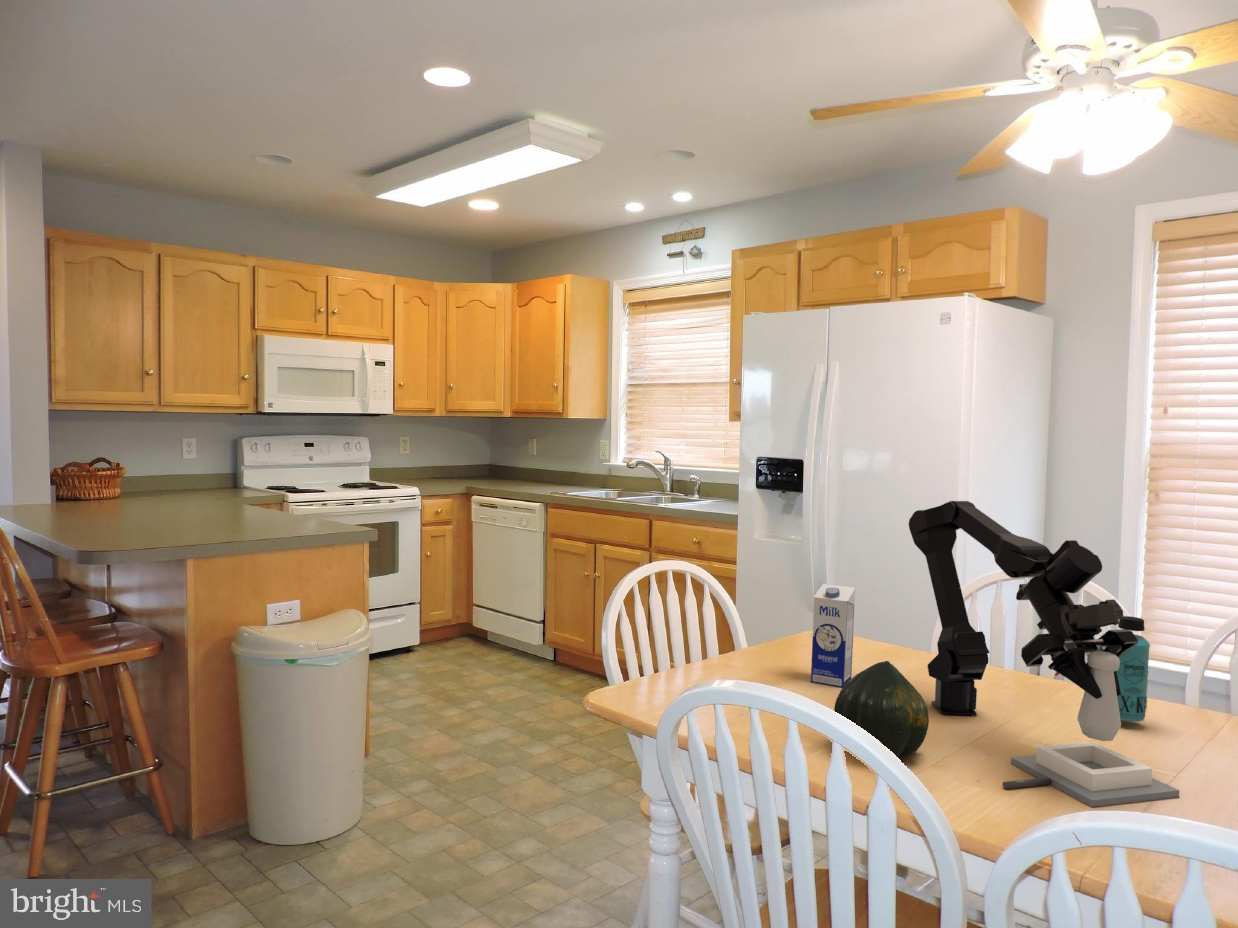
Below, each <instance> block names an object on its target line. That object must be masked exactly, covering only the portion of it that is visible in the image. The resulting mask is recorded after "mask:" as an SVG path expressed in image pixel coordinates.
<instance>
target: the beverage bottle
mask: <svg viewBox="0 0 1238 928" xmlns="http://www.w3.org/2000/svg"><path fill="white" fill-rule="evenodd" d="M1117 625H1118V628H1119V629H1126V630H1129V631H1132V632H1144V631H1145V620H1144V618H1141V617H1136V616H1129V615H1123V618H1122V619H1119V624H1117ZM1133 634H1134V633H1133ZM1134 635H1135V637H1136V638H1137V640H1138V642H1139V643H1138V644H1137V645H1135V646H1134V647H1133V648H1131V649H1130V650H1129V651H1127V652H1126V653H1125V654H1123V655H1122V656H1121V657H1119V660H1120V666H1119V669H1118V670H1117V671H1116V672H1117V676H1118V681H1119V686H1120V690H1121V695H1120V696H1119V697H1117V699H1118V706H1119V713H1120V720H1121V721H1124V722H1134V723H1137V722H1138V723H1140V722H1144V721H1145V718H1146V716H1147V715H1146V714H1147V707H1148V706H1147V705H1148V693H1147V692H1148V691H1149V690H1148V686H1149V683H1148V682H1149V680H1148V677H1149V673H1150V671H1149V669H1150V668H1149V659H1150V647H1151V644H1150V642H1149V641H1148V640H1147V639H1146V638H1145V637H1144V636H1143V635H1139V634H1134Z"/></svg>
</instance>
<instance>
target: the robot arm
mask: <svg viewBox="0 0 1238 928" xmlns="http://www.w3.org/2000/svg"><path fill="white" fill-rule="evenodd" d="M908 528H909V532H910V534H911V538H912V541H913V543H914V545H915V546H916V547H917V548H918V549H919V551H920V552H921V553H922V554H923V555H924V556H925V560H926V564H927V568H928V573H929V576H930V582H931V585H932V589H933V593H934V594H933V595H934V597H935V598H934V599H935V602H936V607H937V610H938V611H937V612H938V616H939V620H940V624H941V632H940V633H939V634H940V635H939V636H938V640H937V643H936V645H937V652H938V654H937V655H936V656H935V657H934V658H932V660H930V661H929V662H928V664H927V671H928V676H929V677H931V678H933V679H935V687H934V688H935V689H934V690H935V691H934V700H931V705H932V706H933V707H934V708H936V710H938V711H939V712H940V714H942V715H953V716H955V715H956V716H977V714H978V713H977V711H976V709H977V698H978V697H977V696H978V695H977V692H978V690H977V687H975V683H976V682H975V681H981V680H982V679H983V677H984V673H985V671H986V669H987V666H988V665H989V655H988V654H990V650H989V648H988V645H987V642H986V636H985V634H984V631H976V630H975V629H974V627H972V625H971V624H970V621H969V616H968V613H967V609H966V604H965V600H964V596H963V592H962V587H961V584H960V580H959V579H960V578H959V576H958V571H957V567H956V563H955V559H954V555H953V549H954V547H955V543H956V541H957V531H958V530H960V529H961V530H962V531H964V533H966V534H967V535H968V536H970V537H972V538H973V539H974V540H975V541H976V542H977V543H979V544H980V545H982V546H983V547H984V548H986V549H987V550H989V551H990V552H991V554H992V555H993V557H994V562H995V564H996V565H997V566H998V567H999V568H1000V569H1001V570H1002V571H1003V572H1004V574H1005V575H1006V576H1008V577H1009V578H1012V579H1020V578H1021V579H1025V578H1031V579H1029V581H1028V582H1027V583H1020V584H1019V585H1018V590H1017V593H1016V597H1015V598H1016V600H1017V601H1028V602H1030V604H1031V606H1032V607H1033V609H1034V611H1035V612H1036V614H1037V615H1038V618H1039V619H1040V621H1039V622H1038V623H1037V624H1036V625H1037V627H1038V628H1039V630H1046V631H1047V633H1038V634H1036V635H1035V636H1034V637H1033V638H1032V639H1031V640H1030V641H1029V642H1028V643H1026V644H1025V645H1024V646H1022V648H1021V653H1020V657H1021V659H1022V660H1023V662H1024V663H1025V665H1026V667H1027V668H1029V667H1040V666H1042V665H1043V663H1044V658H1043V656H1050V657H1051V658H1050V659H1051V661H1052V662H1051V663H1049V665H1048V666H1047V668H1048V669H1049V670H1053V671H1055V672H1056V673H1058V674H1059V675H1061V676H1062V677H1064V678H1066V679H1068V680H1069V681H1071V682H1072V683H1073V684H1074V685H1076V686H1077V687H1079V688H1080V689H1082V690H1083V691H1084V692H1085V691H1086V692H1087V693H1089V694H1090V695H1091V696H1093V697H1094V698H1095V699H1099V698H1101V697H1102V693H1101V691H1100V689H1099V687H1098V685H1097V683H1096V681H1095V679H1094V677H1093V675H1092V674H1091V672H1090V671H1091V667H1090V666H1089V665H1088V663H1087V661H1086V657H1087V658H1088V654H1090V653H1091V652H1094V651H1103V652H1108V653H1112V654H1114V655H1116V656H1117V657H1118V658H1119V657H1121V656H1122V655H1123V654H1125V653H1126V652H1127V651H1129V650H1130V649H1131V648H1133V647H1134V646H1135V645H1137V644H1138V643H1139V642H1138V640H1137V638H1136V637H1135V635H1136V634H1135V635H1134V631H1130V630H1126V629H1121V628H1119V629H1108V630H1107V631H1106V632H1105V633H1103V634H1102V635H1101V636H1099V637H1098V638H1096V639H1095V636H1097V635H1099V634H1101V632H1103V629H1102V628H1103V627H1107V626H1111V625H1113V626H1117V625H1119V619H1122V618H1123V616H1124V610H1123V609H1122V607H1121V606H1120V605H1119V603H1118V602H1117V600H1115V599H1105V600H1104V601H1099V602H1098V604H1097V603H1096V604H1089V605H1086V606H1084V605H1082V604H1080V603H1079V604H1075V603H1074V601H1073V600H1072V598H1071V596H1070V595H1069V594H1076V593H1078V592H1079V591H1080V590H1081V589H1083V588H1084V587H1085V586H1086V585H1087V584H1088V583H1090V581H1092V580H1093V579H1094V578H1095V577H1096V576H1097V575H1098V574H1100V572H1102V570H1103V563H1102V560H1101V559H1100V558H1099V556H1098V555H1096V554H1095V553H1094V552H1092V551H1091V549H1090V550H1089V549H1088V548H1086V547H1085V546H1083V545H1080V544H1079V542H1078V541H1077V539H1075V540H1073V539H1072V540H1071V539H1070V540H1065V541H1064V542H1063V543H1062V544H1061V545H1060V547H1059V548H1058V549H1057V550H1056V551H1055V552H1054V553H1053V552H1051V551H1050V549H1049V548H1048V547H1047V546H1046V545H1044V544H1042V543H1040V542H1038V541H1036V540H1033V539H1030V538H1026V537H1023V536H1019V535H1016V534H1014V533H1012V532H1011V531H1009V530H1008V529H1006V528H1005V527H1004V526H1002V525H1001V524H999V523H998V522H997V521H996V520H994V519H993V518H991V517H990V516H989V515H987V514H986V513H984V512H982V510H980V509H978V508H977V507H976V506H975V504H974V503H973V502H971V501H969V500H950V501H948V502H944V503H943V504H940V505H938V506H935V507H931V508H927V509H918V510H915V511H914V512H913V513H912V515H911V517H910V518H909V520H908ZM1114 678H1115V685H1116V692H1117V697H1119V696H1120V695H1121V690H1120V686H1119V681H1118V676H1117V672H1116V671H1114Z"/></svg>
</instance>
